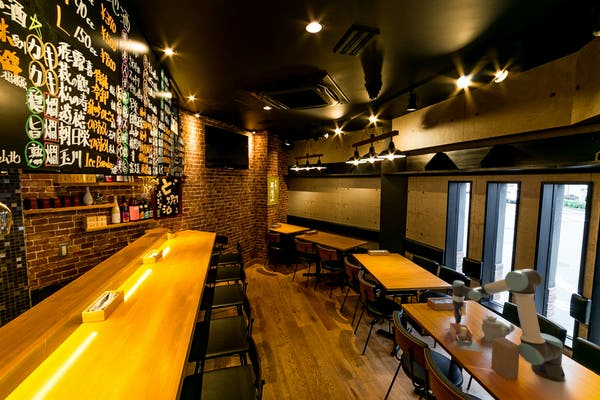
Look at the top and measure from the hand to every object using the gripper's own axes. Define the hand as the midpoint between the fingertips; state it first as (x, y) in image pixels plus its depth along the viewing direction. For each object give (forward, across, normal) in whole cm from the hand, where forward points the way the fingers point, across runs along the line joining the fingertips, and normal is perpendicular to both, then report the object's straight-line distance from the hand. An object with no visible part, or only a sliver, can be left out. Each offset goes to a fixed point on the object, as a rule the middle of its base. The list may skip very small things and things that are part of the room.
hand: (457, 329), depth 203 cm
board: (+2, -11, -1) cm, 11 cm away
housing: (+1, -9, 0) cm, 9 cm away
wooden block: (+3, -42, -15) cm, 44 cm away
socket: (+2, -14, 0) cm, 14 cm away
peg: (+1, -14, 0) cm, 14 cm away
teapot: (+3, -6, -25) cm, 26 cm away
